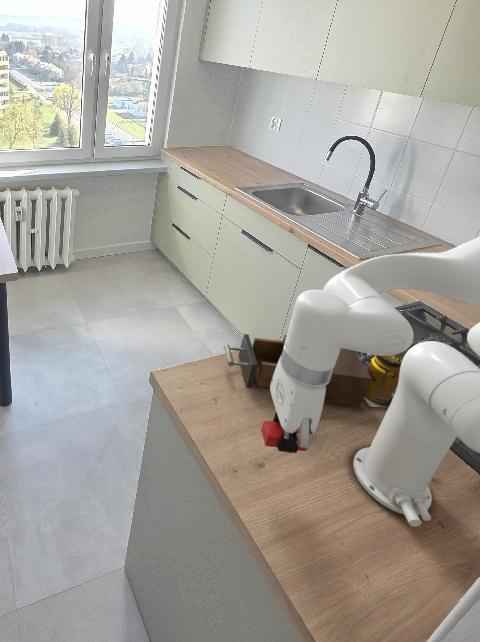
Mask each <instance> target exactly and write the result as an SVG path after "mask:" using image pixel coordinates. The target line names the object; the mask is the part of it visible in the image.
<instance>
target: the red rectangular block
mask: <svg viewBox="0 0 480 642" xmlns="http://www.w3.org/2000/svg"><path fill="white" fill-rule="evenodd" d="M260 432H261V436H262V439H263V442H264V446H265V447H271V448H277V446H278V443H279V439H280V436H281V432H284V429H283V428H282V426H281V424H280V422H273V420H272V421H271V420H263V421H262V426H261V429H260ZM295 432H298V429H297V430H296V431H295ZM310 442H311V440H309V443H310ZM307 450H308V449H305V448H298V451H302V452H307Z"/></svg>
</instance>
